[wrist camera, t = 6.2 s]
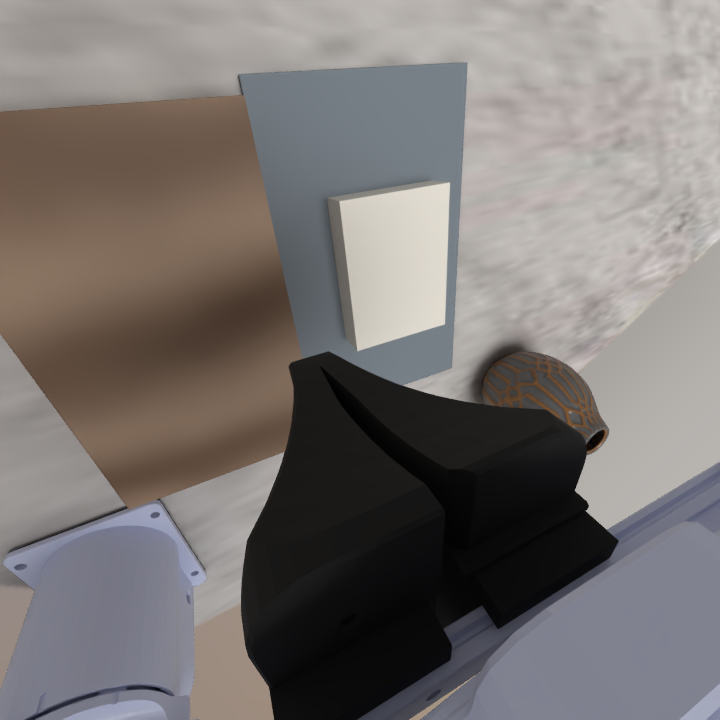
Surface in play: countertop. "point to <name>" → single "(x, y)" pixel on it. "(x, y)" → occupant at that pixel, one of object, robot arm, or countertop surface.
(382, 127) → the mat
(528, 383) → the vase
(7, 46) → the countertop surface
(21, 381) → the countertop surface
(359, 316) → the tile
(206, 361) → the block
